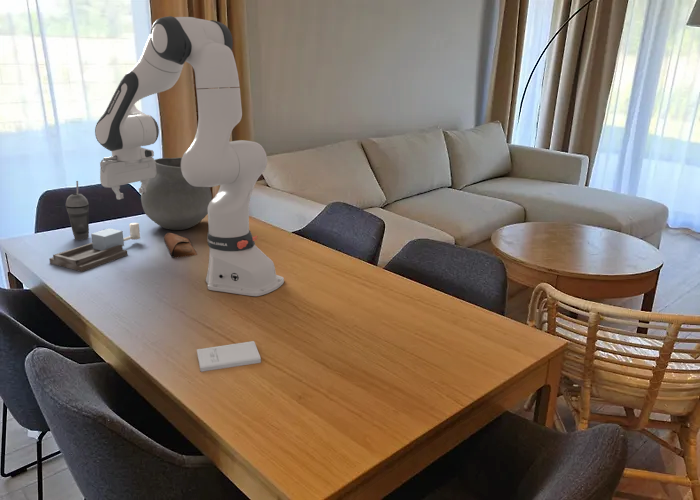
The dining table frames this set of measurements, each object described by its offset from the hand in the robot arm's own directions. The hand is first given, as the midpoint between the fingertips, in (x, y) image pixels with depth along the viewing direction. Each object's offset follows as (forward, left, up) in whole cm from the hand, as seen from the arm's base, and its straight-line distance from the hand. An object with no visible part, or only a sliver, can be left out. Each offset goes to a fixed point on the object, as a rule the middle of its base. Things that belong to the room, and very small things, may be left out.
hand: (131, 196), depth 185 cm
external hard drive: (-75, +45, -17) cm, 89 cm away
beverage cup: (+20, +5, -17) cm, 27 cm away
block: (0, +6, -15) cm, 16 cm away
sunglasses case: (-16, -4, -17) cm, 24 cm away
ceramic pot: (+1, -22, -17) cm, 27 cm away
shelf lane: (0, +18, -16) cm, 25 cm away
